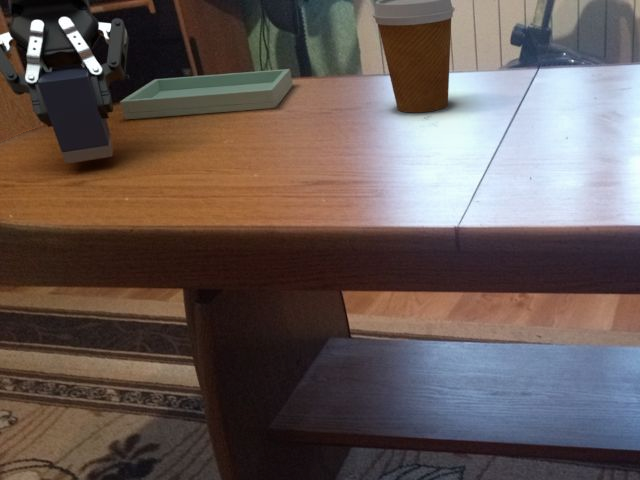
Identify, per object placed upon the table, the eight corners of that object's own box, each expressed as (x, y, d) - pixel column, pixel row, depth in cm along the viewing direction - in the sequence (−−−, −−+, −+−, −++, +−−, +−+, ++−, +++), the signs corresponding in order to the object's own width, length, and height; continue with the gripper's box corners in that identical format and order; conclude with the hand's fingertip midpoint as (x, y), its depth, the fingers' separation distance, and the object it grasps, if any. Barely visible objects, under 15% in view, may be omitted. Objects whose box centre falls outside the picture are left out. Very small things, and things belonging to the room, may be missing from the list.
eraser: (69, 149, 80) (42, 72, 75) (113, 142, 81) (89, 66, 77) (65, 164, 75) (36, 82, 71) (112, 156, 76) (87, 76, 72)
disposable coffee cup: (456, 114, 86) (448, 2, 79) (377, 117, 87) (362, 7, 81) (465, 95, 94) (458, -9, 87) (392, 98, 95) (380, -4, 89)
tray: (125, 119, 95) (119, 101, 94) (158, 95, 107) (154, 79, 105) (275, 108, 95) (272, 89, 94) (293, 85, 106) (290, 68, 105)
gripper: (123, -4, 83) (157, 127, 80) (-18, 11, 79) (12, 149, 76) (107, -56, 76) (143, 85, 73) (-48, -43, 72) (-18, 107, 69)
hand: (76, 117), depth 74 cm, fingers closed on eraser, 4 cm apart
